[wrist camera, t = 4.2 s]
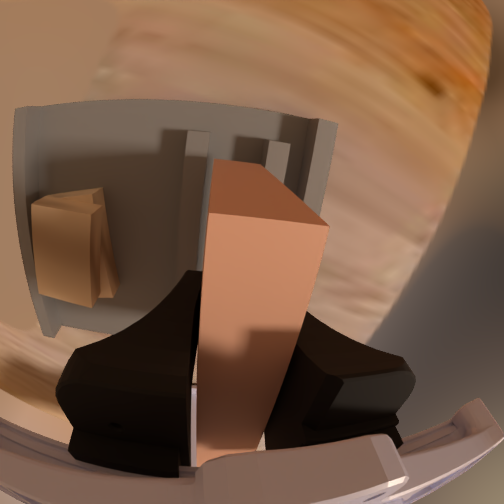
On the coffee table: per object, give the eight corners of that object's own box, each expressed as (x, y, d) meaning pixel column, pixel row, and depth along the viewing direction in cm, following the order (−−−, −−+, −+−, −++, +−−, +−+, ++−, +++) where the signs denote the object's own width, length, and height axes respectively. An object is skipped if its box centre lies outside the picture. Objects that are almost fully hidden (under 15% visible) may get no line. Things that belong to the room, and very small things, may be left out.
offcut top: (100, 293, 14) (92, 308, 13) (49, 280, 14) (38, 293, 12) (102, 205, 12) (91, 214, 11) (46, 196, 12) (31, 204, 10)
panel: (232, 343, 16) (247, 469, 9) (198, 340, 16) (196, 469, 8) (260, 164, 12) (329, 226, 5) (213, 158, 12) (208, 212, 4)
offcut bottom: (119, 284, 16) (113, 297, 15) (67, 284, 15) (58, 297, 14) (102, 187, 13) (92, 193, 12) (46, 195, 13) (33, 202, 12)
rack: (273, 337, 20) (279, 361, 18) (56, 315, 17) (43, 335, 15) (320, 123, 14) (338, 123, 12) (38, 108, 11) (15, 108, 9)
